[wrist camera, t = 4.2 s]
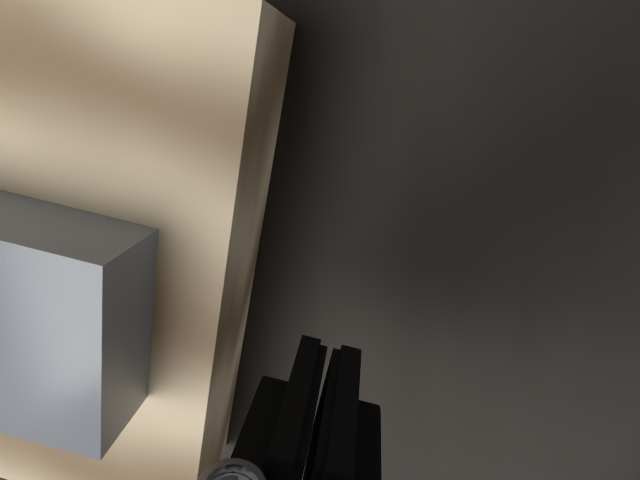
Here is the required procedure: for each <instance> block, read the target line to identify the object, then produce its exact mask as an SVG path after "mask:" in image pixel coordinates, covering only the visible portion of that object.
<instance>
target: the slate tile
mask: <svg viewBox="0 0 640 480" xmlns="http://www.w3.org/2000/svg"><path fill="white" fill-rule="evenodd" d="M158 232H159V229H157V228H153V227H149V226H145V225H141V224H137V223H133V222H129V221H125V220H121V219H117V218H113V217H109V216H105V215H101V214H97V213H93V212H89V211H85V210H81V209H77V208H73V207H69V206H64V205H60V204H56V203H52V202H48V201H44V200H40V199H36V198H32V197H28V196H24V195H20V194H16V193H12V192H8V191H4V190H0V433H2V434H5V435H9V436H12V437H16V438H20V439H23V440H27V441H31V442H34V443H38V444H41V445H45V446H49V447H52V448H56V449H60V450H63V451H67V452H70V453H74V454H78V455H81V456H85V457H89V458H92V459H96V460H99V461H101V459H102V458H103V457H104V455H105V454H106V453H107V451H108V450H109V449H110V447H111V446H112V444H113V443H114V442H115V440H116V439H117V438H118V436H119V435H120V434H121V432H122V431H123V429H124V428H125V427H126V425H127V424H128V423H129V421H130V420H131V419H132V417H133V416H134V414H135V413H136V412H137V410H138V409H139V408H140V406H141V405H142V404H143V402H144V401H145V399H146V398H147V397H148V386H149V370H150V355H151V340H152V324H153V309H154V294H155V278H156V263H157V248H158Z"/></svg>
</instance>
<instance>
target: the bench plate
mask: <svg viewBox="0 0 640 480" xmlns="http://www.w3.org/2000/svg"><path fill="white" fill-rule="evenodd" d="M295 26H296V23H295V22H293V21H292V20H291V19H289V18H288V17H287V16H285V15H284V14H283V13H281V12H280V11H278V10H277V9H276V8H274V7H273V6H272V5H270V4H269V3H268V2H266V1H265V0H0V190H4V191H8V192H12V193H16V194H20V195H24V196H28V197H32V198H36V199H40V200H44V201H48V202H52V203H56V204H60V205H64V206H69V207H73V208H77V209H81V210H85V211H89V212H93V213H97V214H101V215H105V216H109V217H113V218H117V219H121V220H125V221H129V222H133V223H137V224H141V225H145V226H149V227H153V228H157V229H159V232H158V248H157V263H156V278H155V294H154V309H153V324H152V340H151V355H150V370H149V386H148V397H147V398H146V399H145V401H144V402H143V404H142V405H141V406H140V408H139V409H138V410H137V412H136V413H135V414H134V416H133V417H132V419H131V420H130V421H129V423H128V424H127V425H126V427H125V428H124V429H123V431H122V432H121V434H120V435H119V436H118V438H117V439H116V440H115V442H114V443H113V444H112V446H111V447H110V449H109V450H108V451H107V453H106V454H105V455H104V457H103V458H102V459H101V461H99V460H96V459H92V458H89V457H85V456H81V455H78V454H74V453H70V452H67V451H63V450H60V449H56V448H52V447H49V446H45V445H41V444H38V443H34V442H31V441H27V440H23V439H20V438H16V437H12V436H9V435H5V434H2V433H0V477H1V478H5V479H8V480H197V479H198V477H199V476H200V475H201V473H202V472H203V471H204V470H205V469H206V468H207V467H208V466H210V465H211V464H213V463H215V462H216V461H219V460H220V458H221V455H222V453H223V451H224V448H225V446H226V441H227V435H228V429H229V423H230V417H231V411H232V405H233V399H234V393H235V387H236V381H237V375H238V369H239V363H240V357H241V351H242V345H243V339H244V333H245V327H246V321H247V315H248V309H249V303H250V297H251V291H252V284H253V278H254V272H255V266H256V260H257V254H258V248H259V242H260V236H261V230H262V224H263V218H264V212H265V206H266V200H267V194H268V188H269V182H270V176H271V170H272V164H273V158H274V152H275V146H276V140H277V134H278V128H279V122H280V116H281V110H282V104H283V98H284V92H285V86H286V80H287V74H288V68H289V62H290V56H291V50H292V44H293V38H294V32H295Z"/></svg>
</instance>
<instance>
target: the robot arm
mask: <svg viewBox="0 0 640 480" xmlns="http://www.w3.org/2000/svg"><path fill="white" fill-rule="evenodd" d="M320 343H321V339H317V338H313V337H309V336H305V335H302V338H301V341H300V345H299V348H298V351H297V355H296V358H295V362H294V365H293V368H292V372H291V375H290V378H289V382H287V381H283V380H279V379H275V378H271V377H267V376H263V377H262V379H261V381H260V384H259V386H258V389H257V391H256V394H255V396H254V399H253V401H252V404H251V407H250V409H249V412H248V414H247V417H246V419H245V422H244V424H243V427H242V430H241V432H240V435H239V437H238V440H237V442H236V445H235V448H234V450H233V453H232V455H231V458H226V459H223V460H219V461H216V462H215V463H213V464H211V465H210V466H208V467H207V468H206V469H205V470H204V471H203V472H202V473H201V475H200V476H199V477H198V479H197V480H301V479H302V475H303V471H304V476H303V480H381V412H380V406H379V405H376V404H372V403H368V402H365V401H361V400H359V384H360V366H361V349H357V348H353V347H349V346H345V345H342V346H341V349H340V350H339V349H335V348H333V351H332V355H331V359H330V362H329V366H328V370H327V374H326V378H325V381H324V385H323V389H322V393H321V397H320V401H319V404H318V408H317V412H316V416H315V411H316V405H317V400H318V395H319V389H320V384H321V379H322V373H323V368H324V363H325V357H326V352H327V346H323V345H320ZM314 416H315V420H314ZM313 421H314V424H313ZM312 427H313V428H312ZM311 432H312V433H311ZM310 437H311V438H310ZM308 448H309V449H308ZM307 453H308V454H307ZM306 458H307V460H306ZM305 463H306V465H305ZM304 467H305V470H304Z"/></svg>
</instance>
